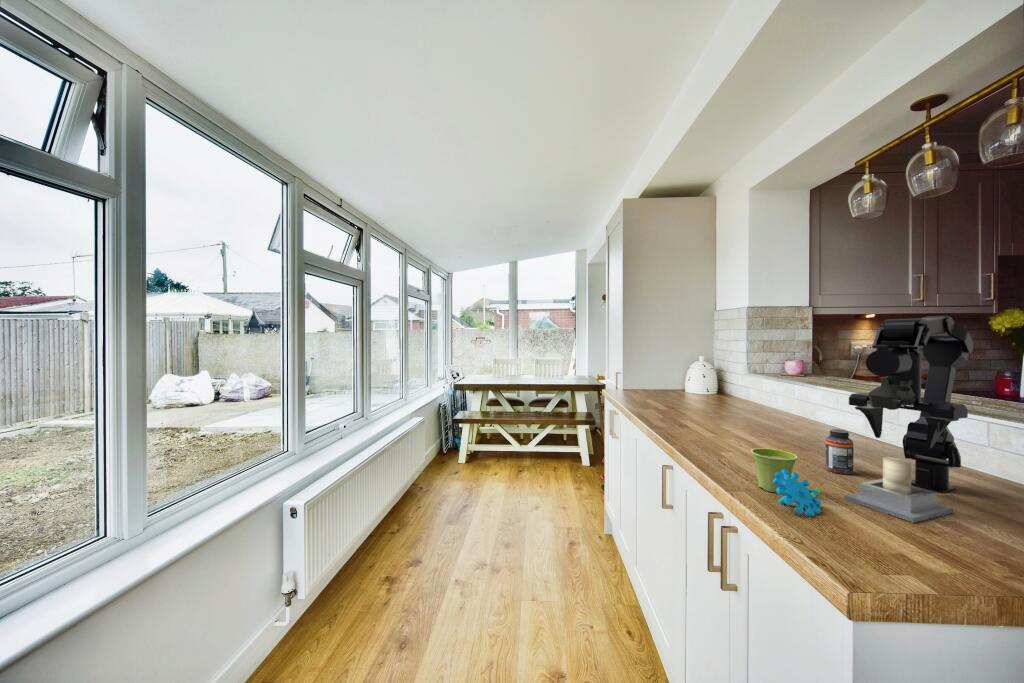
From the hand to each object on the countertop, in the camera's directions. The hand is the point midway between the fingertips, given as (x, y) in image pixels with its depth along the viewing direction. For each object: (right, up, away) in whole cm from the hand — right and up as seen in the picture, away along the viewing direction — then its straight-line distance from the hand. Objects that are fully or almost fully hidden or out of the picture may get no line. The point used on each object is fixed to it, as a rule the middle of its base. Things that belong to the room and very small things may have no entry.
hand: (902, 442), depth 89 cm
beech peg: (-5, -12, -4) cm, 13 cm away
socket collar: (-5, -12, -4) cm, 13 cm away
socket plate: (-5, -13, -4) cm, 14 cm away
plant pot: (-25, -13, +6) cm, 29 cm away
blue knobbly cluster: (-28, -13, -5) cm, 31 cm away
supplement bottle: (+1, -13, +19) cm, 23 cm away
